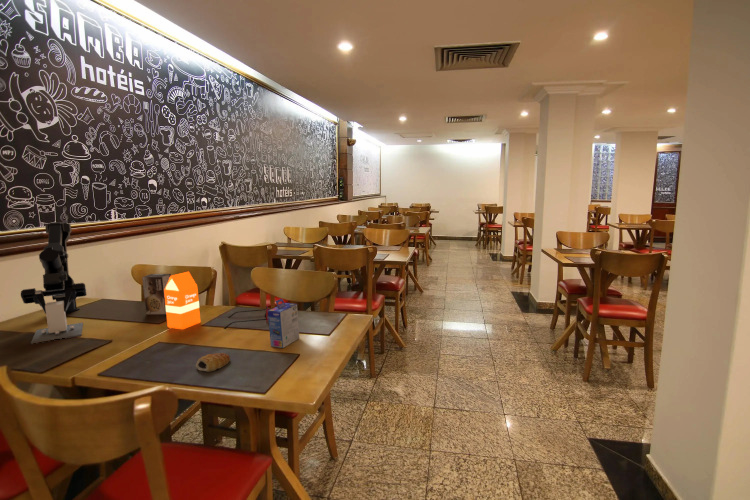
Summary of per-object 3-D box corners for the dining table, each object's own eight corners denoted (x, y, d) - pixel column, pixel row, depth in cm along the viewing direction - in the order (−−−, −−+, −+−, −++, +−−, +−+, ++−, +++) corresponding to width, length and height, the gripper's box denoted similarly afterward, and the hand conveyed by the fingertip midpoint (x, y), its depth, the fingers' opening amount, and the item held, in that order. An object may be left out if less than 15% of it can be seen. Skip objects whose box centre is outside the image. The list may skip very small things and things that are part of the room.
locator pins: (42, 334, 148) (41, 330, 147) (74, 328, 153) (74, 325, 152) (40, 338, 143) (39, 334, 143) (73, 332, 148) (73, 328, 148)
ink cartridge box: (286, 336, 143) (284, 295, 141) (300, 338, 141) (298, 297, 139) (269, 346, 134) (266, 303, 132) (283, 348, 132) (281, 304, 130)
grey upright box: (175, 310, 177) (171, 273, 174) (166, 314, 170) (162, 276, 168) (155, 309, 178) (151, 273, 175) (145, 314, 171) (141, 276, 169)
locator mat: (37, 331, 153) (36, 329, 152) (83, 324, 160) (82, 322, 160) (30, 344, 139) (30, 342, 139) (81, 335, 147) (81, 334, 147)
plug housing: (50, 329, 150) (46, 302, 149) (67, 326, 153) (63, 300, 152) (48, 333, 146) (45, 306, 145) (66, 330, 149) (62, 303, 147)
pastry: (220, 357, 126) (219, 346, 125) (236, 362, 123) (235, 350, 122) (193, 369, 118) (192, 357, 117) (209, 374, 114) (208, 361, 114)
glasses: (269, 325, 155) (268, 313, 155) (223, 329, 152) (222, 316, 151) (270, 315, 169) (269, 303, 168) (227, 318, 165) (226, 306, 164)
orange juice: (167, 327, 155) (162, 275, 152) (185, 320, 163) (181, 270, 160) (182, 329, 152) (178, 276, 149) (201, 322, 160) (196, 271, 157)
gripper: (17, 267, 145) (16, 305, 138) (82, 261, 155) (84, 296, 148) (24, 285, 153) (23, 321, 145) (85, 278, 163) (87, 312, 155)
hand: (55, 312), depth 148 cm, fingers open, 5 cm apart
